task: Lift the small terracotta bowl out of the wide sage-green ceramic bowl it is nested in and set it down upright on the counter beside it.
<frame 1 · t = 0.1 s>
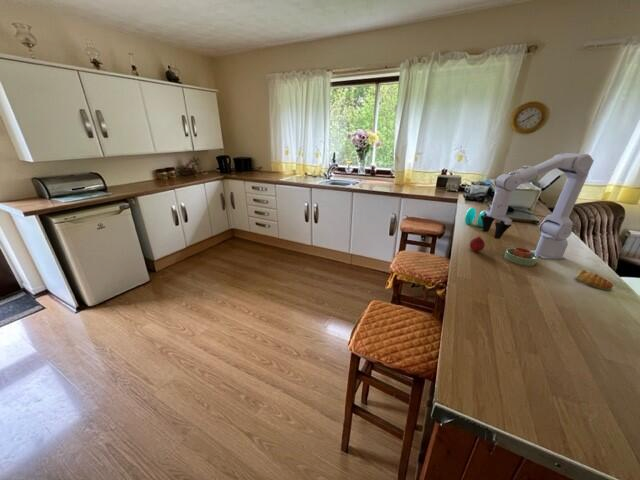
hand: (491, 234, 110), 10 cm above the worktop, tool pointing down, fingers open, 7 cm apart
small bowl: (519, 259, 110), resting on big bowl
pastry: (589, 283, 94), on the worktop
onion: (474, 252, 118), on the worktop
pair of cyan ovals: (474, 225, 152), on the worktop
big bowl: (519, 260, 110), on the worktop, touching small bowl
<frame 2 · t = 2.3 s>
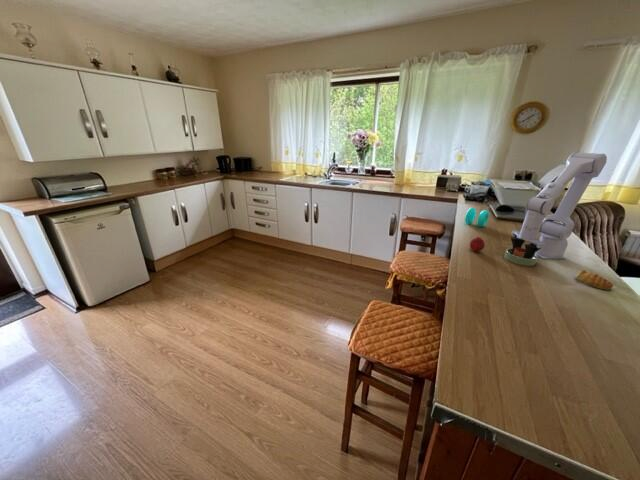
hand: (520, 256, 109), 2 cm above the worktop, tool pointing down, fingers closed on small bowl, 5 cm apart
small bowl: (519, 259, 110), resting on big bowl, touching gripper
everything else where it was.
when the fingers open (1 cm above the worktop, at t = 7.3 s): small bowl stays where it is, on the worktop.
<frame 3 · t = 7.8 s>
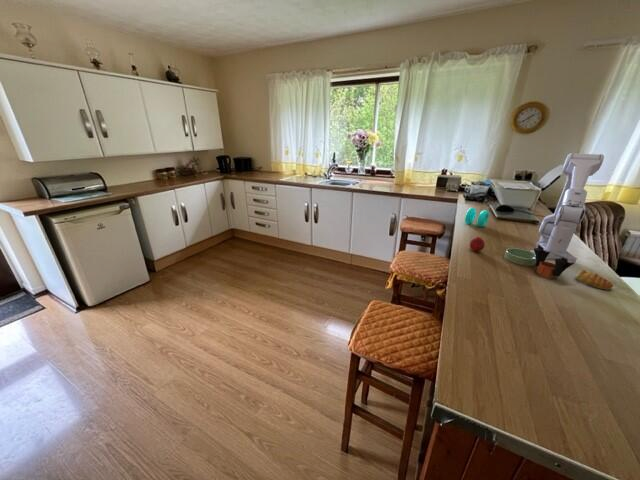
hand: (546, 270, 98), 2 cm above the worktop, tool pointing down, fingers open, 7 cm apart
small bowl: (545, 275, 99), on the worktop
big bowl: (519, 260, 110), on the worktop
everything else where it was.
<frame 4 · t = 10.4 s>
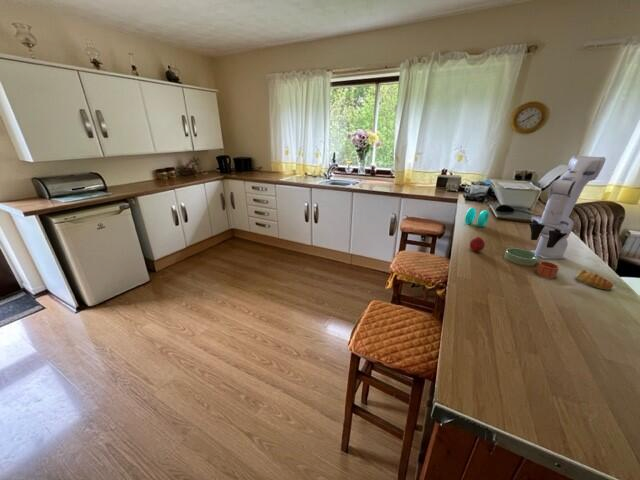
hand: (541, 243, 104), 9 cm above the worktop, tool pointing down, fingers open, 7 cm apart
nothing on the worktop moved.
at the end: small bowl 0.1 cm from the target spot, on the worktop; small bowl tilted 0°; big bowl moved 0.0 cm from its start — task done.
